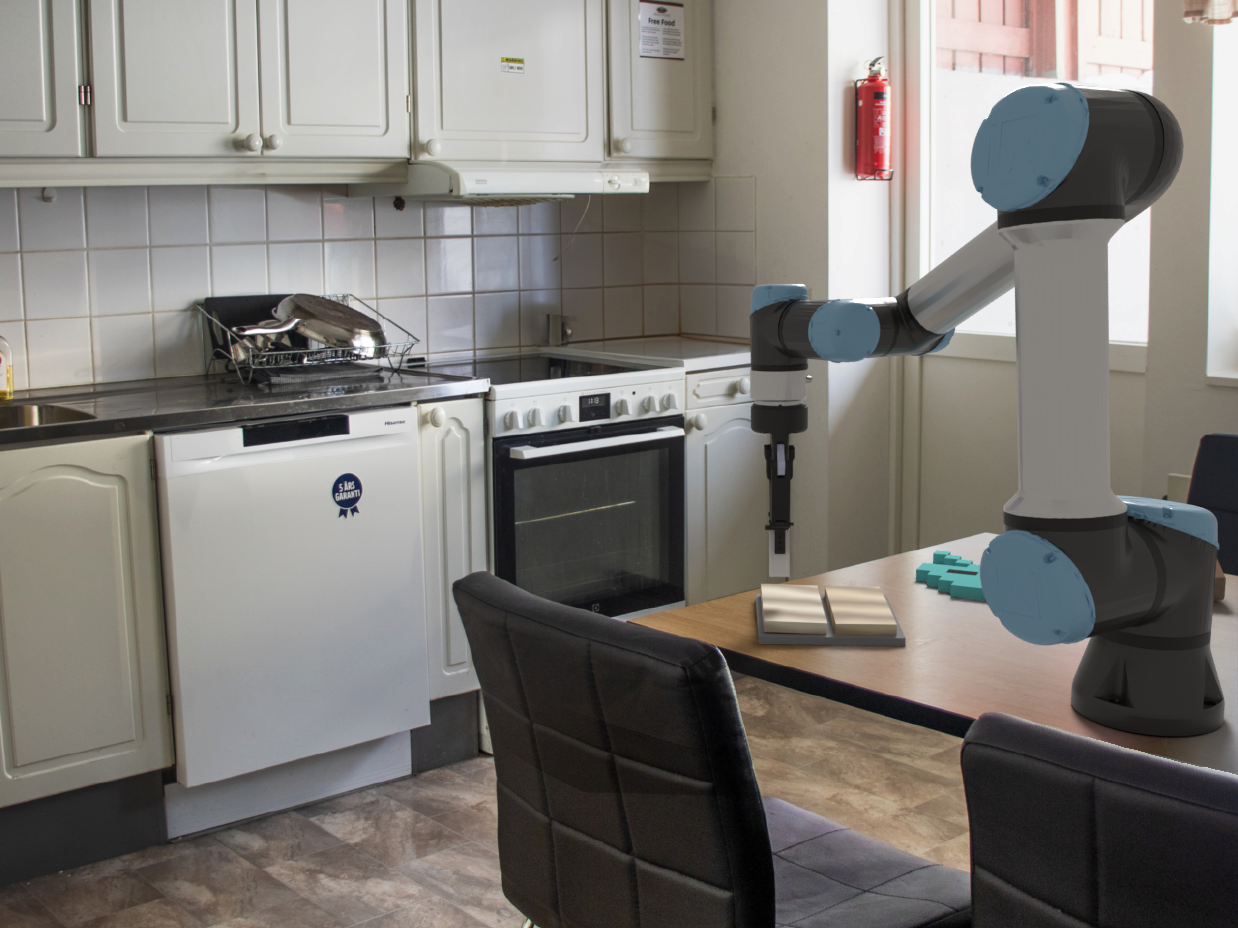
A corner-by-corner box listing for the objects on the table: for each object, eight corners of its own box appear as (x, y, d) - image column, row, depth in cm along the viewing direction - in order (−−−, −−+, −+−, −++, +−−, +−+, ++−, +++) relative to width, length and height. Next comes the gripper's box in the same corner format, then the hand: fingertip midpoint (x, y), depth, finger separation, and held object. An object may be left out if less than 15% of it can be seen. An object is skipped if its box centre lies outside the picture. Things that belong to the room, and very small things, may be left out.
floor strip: (896, 635, 153) (896, 624, 153) (835, 634, 154) (835, 623, 153) (879, 596, 170) (879, 586, 170) (824, 596, 171) (824, 585, 171)
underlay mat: (905, 645, 152) (905, 638, 152) (758, 643, 154) (758, 636, 153) (885, 601, 172) (885, 594, 171) (755, 600, 173) (755, 593, 173)
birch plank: (826, 634, 154) (827, 623, 153) (764, 631, 154) (764, 620, 154) (816, 595, 171) (817, 585, 171) (760, 593, 172) (761, 583, 172)
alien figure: (936, 563, 194) (904, 594, 177) (936, 550, 194) (904, 579, 176) (1066, 577, 185) (1046, 610, 168) (1067, 563, 185) (1047, 595, 167)
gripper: (811, 407, 151) (810, 588, 155) (804, 396, 164) (804, 563, 168) (751, 407, 152) (752, 587, 156) (749, 397, 165) (750, 563, 169)
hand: (779, 575), depth 162 cm, fingers closed
